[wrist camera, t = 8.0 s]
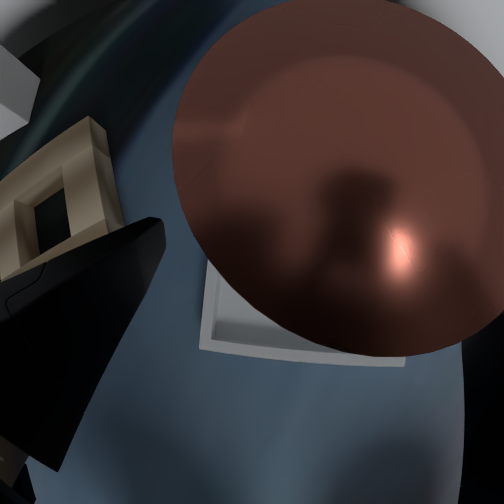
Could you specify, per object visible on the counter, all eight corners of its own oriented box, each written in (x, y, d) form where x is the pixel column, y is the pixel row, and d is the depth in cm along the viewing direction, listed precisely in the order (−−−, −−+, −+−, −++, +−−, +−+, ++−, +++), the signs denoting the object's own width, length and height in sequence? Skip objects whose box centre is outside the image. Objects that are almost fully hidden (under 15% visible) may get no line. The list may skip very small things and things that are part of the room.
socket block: (136, 266, 19) (115, 262, 16) (29, 315, 20) (7, 315, 17) (105, 130, 21) (88, 115, 18) (13, 194, 22) (-6, 186, 19)
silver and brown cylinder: (320, 318, 16) (429, 437, 2) (253, 265, 17) (96, 175, 3) (370, 249, 16) (566, 133, 2) (304, 199, 17) (318, -35, 3)
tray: (396, 361, 16) (404, 366, 14) (206, 344, 18) (198, 348, 16) (405, 176, 17) (413, 167, 16) (227, 162, 19) (222, 151, 18)
